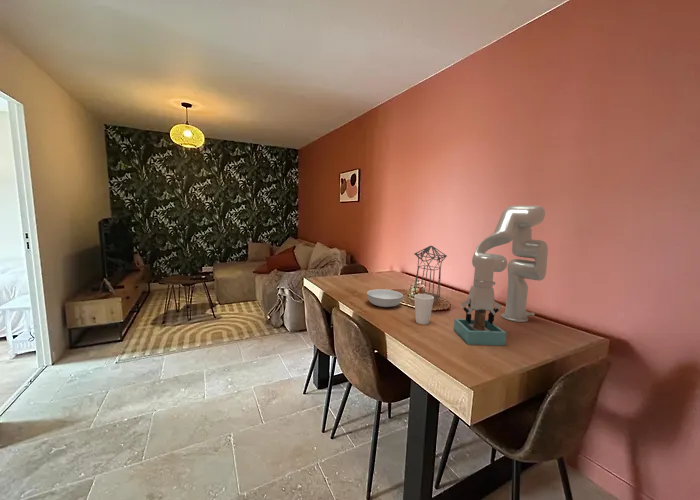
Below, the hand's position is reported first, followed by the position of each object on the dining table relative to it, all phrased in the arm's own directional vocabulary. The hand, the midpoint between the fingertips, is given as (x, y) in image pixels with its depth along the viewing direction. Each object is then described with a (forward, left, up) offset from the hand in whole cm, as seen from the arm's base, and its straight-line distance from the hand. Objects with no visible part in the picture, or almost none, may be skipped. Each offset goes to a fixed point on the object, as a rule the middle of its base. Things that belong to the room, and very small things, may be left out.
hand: (479, 322), depth 138 cm
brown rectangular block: (0, 0, -6) cm, 6 cm away
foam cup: (+20, -18, -7) cm, 28 cm away
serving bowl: (+35, -46, -7) cm, 58 cm away
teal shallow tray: (0, 0, -7) cm, 7 cm away
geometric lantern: (+8, -53, -7) cm, 54 cm away
